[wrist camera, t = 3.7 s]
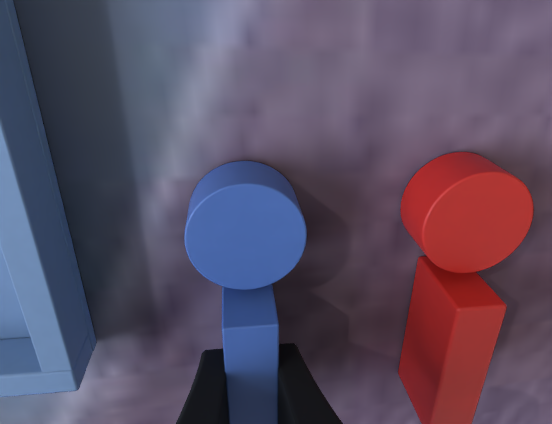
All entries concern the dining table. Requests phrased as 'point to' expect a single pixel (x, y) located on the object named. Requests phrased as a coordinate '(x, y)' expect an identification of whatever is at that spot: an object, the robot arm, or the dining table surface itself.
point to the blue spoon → (247, 273)
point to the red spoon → (457, 279)
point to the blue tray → (34, 244)
